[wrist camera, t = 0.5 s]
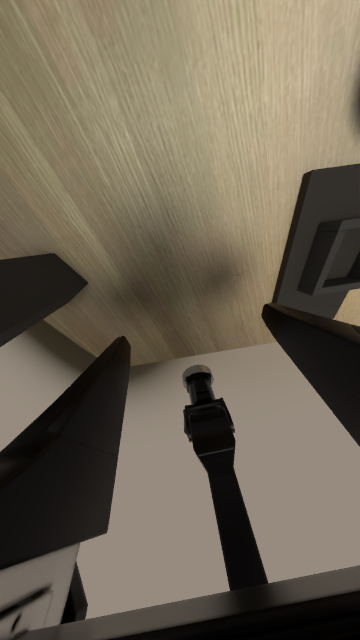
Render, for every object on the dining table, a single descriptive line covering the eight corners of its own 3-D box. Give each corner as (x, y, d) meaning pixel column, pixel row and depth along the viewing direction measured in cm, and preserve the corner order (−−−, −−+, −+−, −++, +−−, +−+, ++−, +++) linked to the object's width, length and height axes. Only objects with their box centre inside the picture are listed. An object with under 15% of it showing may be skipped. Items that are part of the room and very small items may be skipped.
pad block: (88, 282, 18) (-32, 352, 7) (68, 302, 19) (-65, 390, 8) (54, 252, 16) (-197, 283, 5) (33, 276, 17) (-212, 346, 6)
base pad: (328, 315, 25) (350, 326, 22) (265, 326, 25) (279, 337, 22) (408, 159, 15) (469, 139, 12) (303, 173, 15) (339, 157, 12)
